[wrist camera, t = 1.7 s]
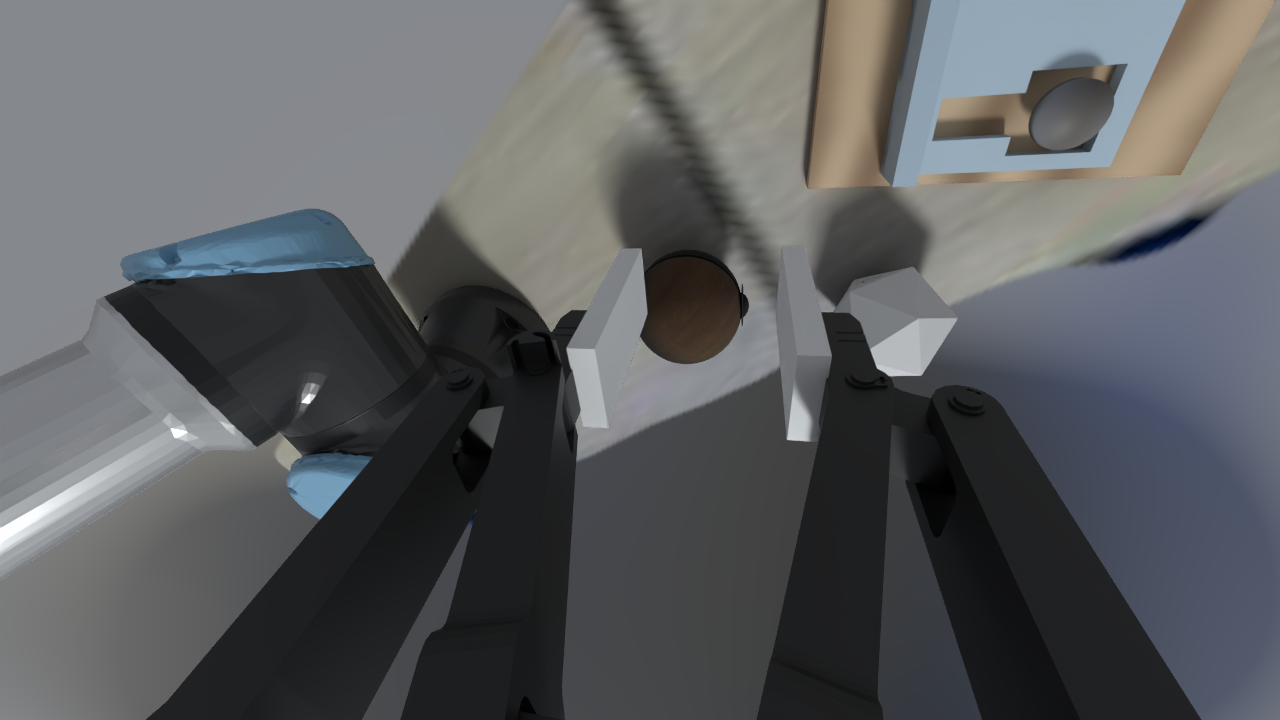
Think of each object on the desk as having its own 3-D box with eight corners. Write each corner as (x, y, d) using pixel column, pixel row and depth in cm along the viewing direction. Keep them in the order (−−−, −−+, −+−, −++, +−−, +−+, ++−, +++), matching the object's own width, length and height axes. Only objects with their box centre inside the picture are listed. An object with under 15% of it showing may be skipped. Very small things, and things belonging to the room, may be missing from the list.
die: (895, 228, 39) (830, 289, 35) (997, 293, 36) (940, 368, 32) (847, 294, 46) (789, 351, 42) (929, 352, 44) (875, 420, 39)
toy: (748, 323, 46) (748, 387, 38) (650, 324, 48) (630, 385, 40) (749, 229, 41) (749, 281, 33) (638, 235, 43) (613, 285, 35)
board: (806, 184, 38) (810, 197, 35) (840, -134, 28) (851, -152, 25) (1168, 170, 33) (1207, 184, 30) (1373, -223, 23) (1461, -256, 20)
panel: (880, 172, 35) (892, 187, 32) (937, -131, 26) (962, -150, 23) (1101, 163, 32) (1137, 178, 29) (1252, -180, 23) (1328, -210, 20)
